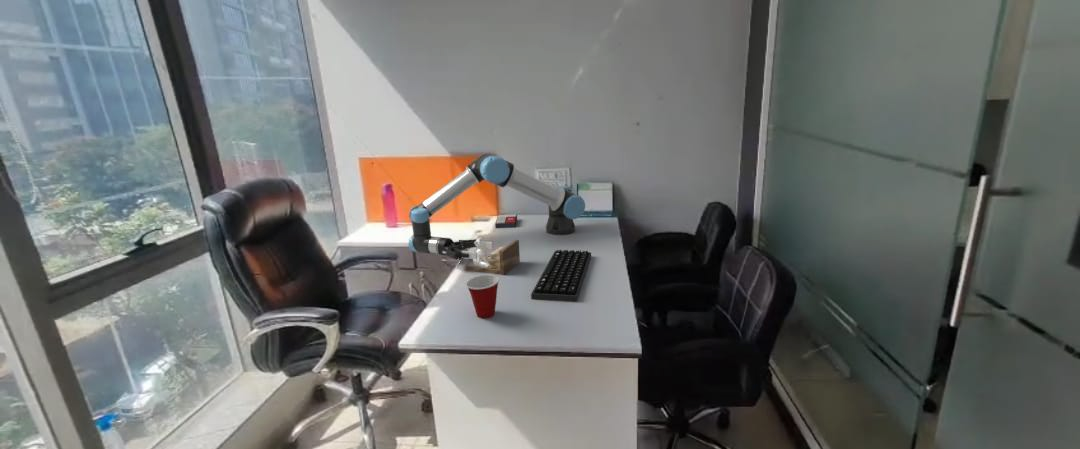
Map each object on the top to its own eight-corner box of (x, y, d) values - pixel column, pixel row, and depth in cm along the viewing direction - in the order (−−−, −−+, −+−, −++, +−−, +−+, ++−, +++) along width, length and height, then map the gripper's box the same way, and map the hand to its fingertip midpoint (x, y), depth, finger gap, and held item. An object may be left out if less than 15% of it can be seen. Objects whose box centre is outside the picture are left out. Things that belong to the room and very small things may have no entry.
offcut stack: (490, 271, 185) (489, 254, 183) (501, 263, 194) (500, 246, 192) (501, 273, 183) (500, 255, 181) (512, 264, 192) (511, 247, 190)
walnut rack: (464, 270, 187) (462, 247, 184) (482, 258, 200) (481, 236, 198) (504, 275, 180) (502, 251, 177) (519, 262, 193) (518, 240, 191)
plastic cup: (469, 308, 153) (466, 274, 150) (501, 305, 154) (499, 272, 151) (467, 323, 143) (463, 288, 139) (501, 320, 143) (499, 285, 140)
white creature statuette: (489, 270, 186) (487, 242, 183) (469, 269, 188) (467, 241, 185) (496, 261, 195) (494, 235, 192) (477, 261, 197) (475, 234, 194)
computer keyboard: (555, 256, 200) (554, 248, 199) (591, 258, 197) (591, 249, 196) (531, 300, 158) (531, 290, 157) (576, 303, 155) (576, 293, 154)
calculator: (494, 222, 245) (497, 214, 259) (495, 230, 246) (498, 221, 260) (515, 221, 244) (516, 213, 259) (515, 229, 246) (517, 220, 260)
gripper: (458, 245, 209) (499, 249, 201) (425, 264, 187) (470, 269, 179) (456, 229, 207) (498, 233, 199) (423, 246, 185) (468, 251, 177)
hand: (484, 250), depth 189 cm, fingers open, 13 cm apart
